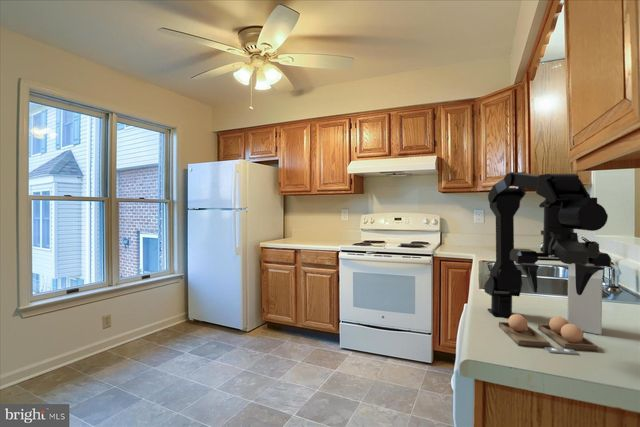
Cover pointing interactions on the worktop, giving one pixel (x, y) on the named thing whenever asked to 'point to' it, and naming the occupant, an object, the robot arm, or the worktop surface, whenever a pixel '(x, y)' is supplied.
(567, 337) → the ball
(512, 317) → the ball
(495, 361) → the worktop surface
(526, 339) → the trough
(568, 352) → the card
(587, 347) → the trough
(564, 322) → the ball
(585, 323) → the milk carton
